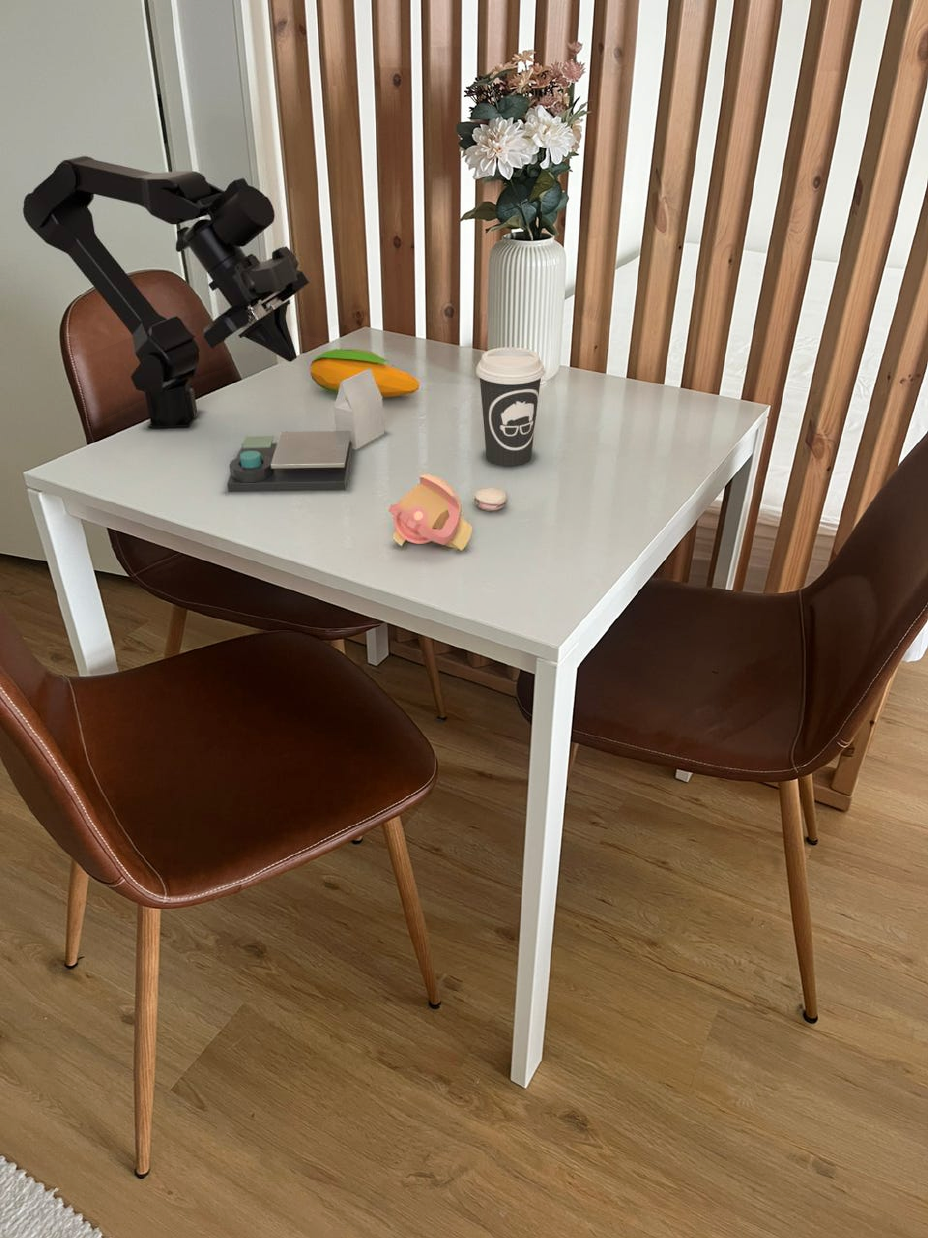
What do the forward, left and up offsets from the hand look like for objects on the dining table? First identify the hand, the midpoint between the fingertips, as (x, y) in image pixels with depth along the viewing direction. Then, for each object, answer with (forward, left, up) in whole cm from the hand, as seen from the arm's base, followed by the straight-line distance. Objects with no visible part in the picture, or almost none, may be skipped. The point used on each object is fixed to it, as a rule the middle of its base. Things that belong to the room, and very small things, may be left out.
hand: (293, 359), depth 143 cm
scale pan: (+3, -9, -10) cm, 14 cm away
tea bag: (+9, +2, -13) cm, 16 cm away
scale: (0, -9, -13) cm, 16 cm away
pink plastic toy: (+20, -30, -13) cm, 38 cm away
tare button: (-5, -12, -10) cm, 17 cm away
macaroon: (+28, -20, -13) cm, 37 cm away
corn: (+9, +19, -13) cm, 24 cm away
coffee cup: (+31, -5, -13) cm, 34 cm away
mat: (+5, +31, -13) cm, 34 cm away
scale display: (-5, -6, -10) cm, 13 cm away
